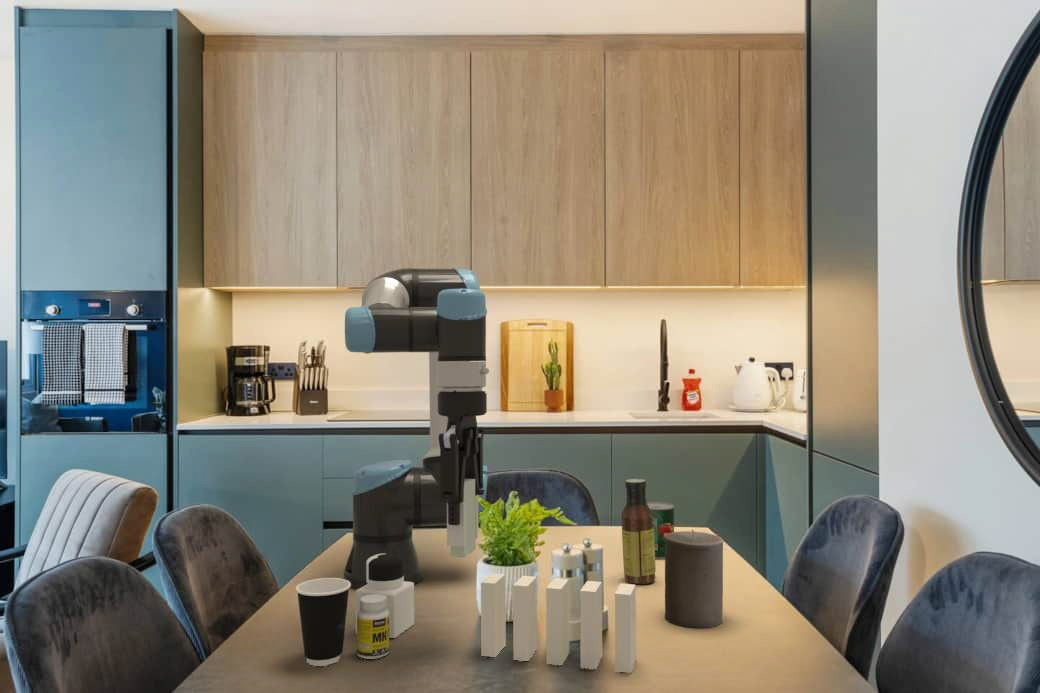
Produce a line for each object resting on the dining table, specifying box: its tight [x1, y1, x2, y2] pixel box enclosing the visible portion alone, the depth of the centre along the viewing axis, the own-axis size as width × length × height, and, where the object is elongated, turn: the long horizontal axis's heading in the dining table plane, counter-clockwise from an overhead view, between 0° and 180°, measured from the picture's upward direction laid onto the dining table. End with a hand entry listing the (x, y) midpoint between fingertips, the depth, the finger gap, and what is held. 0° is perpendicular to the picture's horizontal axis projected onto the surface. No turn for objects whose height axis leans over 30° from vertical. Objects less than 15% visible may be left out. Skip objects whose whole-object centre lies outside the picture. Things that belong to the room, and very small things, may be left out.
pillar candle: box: [664, 529, 724, 629], centre depth 131 cm, size 10×10×15 cm
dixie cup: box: [295, 577, 351, 665], centre depth 114 cm, size 8×8×11 cm
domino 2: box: [512, 575, 538, 662], centre depth 115 cm, size 2×5×11 cm, turn 163°
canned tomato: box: [646, 501, 675, 560], centre depth 172 cm, size 8×8×11 cm
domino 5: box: [614, 583, 637, 674], centre depth 111 cm, size 2×5×11 cm, turn 163°
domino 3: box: [545, 577, 570, 667], centre depth 114 cm, size 2×5×11 cm, turn 163°
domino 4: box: [579, 580, 603, 670], centre depth 112 cm, size 2×5×11 cm, turn 163°
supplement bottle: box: [356, 594, 390, 660], centre depth 116 cm, size 5×5×8 cm
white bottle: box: [354, 553, 415, 639], centre depth 126 cm, size 7×7×12 cm
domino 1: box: [480, 572, 507, 658], centre depth 117 cm, size 2×5×11 cm, turn 163°
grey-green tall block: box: [450, 478, 477, 558], centre depth 119 cm, size 2×5×11 cm, turn 163°
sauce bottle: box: [621, 478, 657, 585], centre depth 152 cm, size 6×6×20 cm
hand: (463, 541), depth 118 cm, fingers closed on grey-green tall block, 5 cm apart
